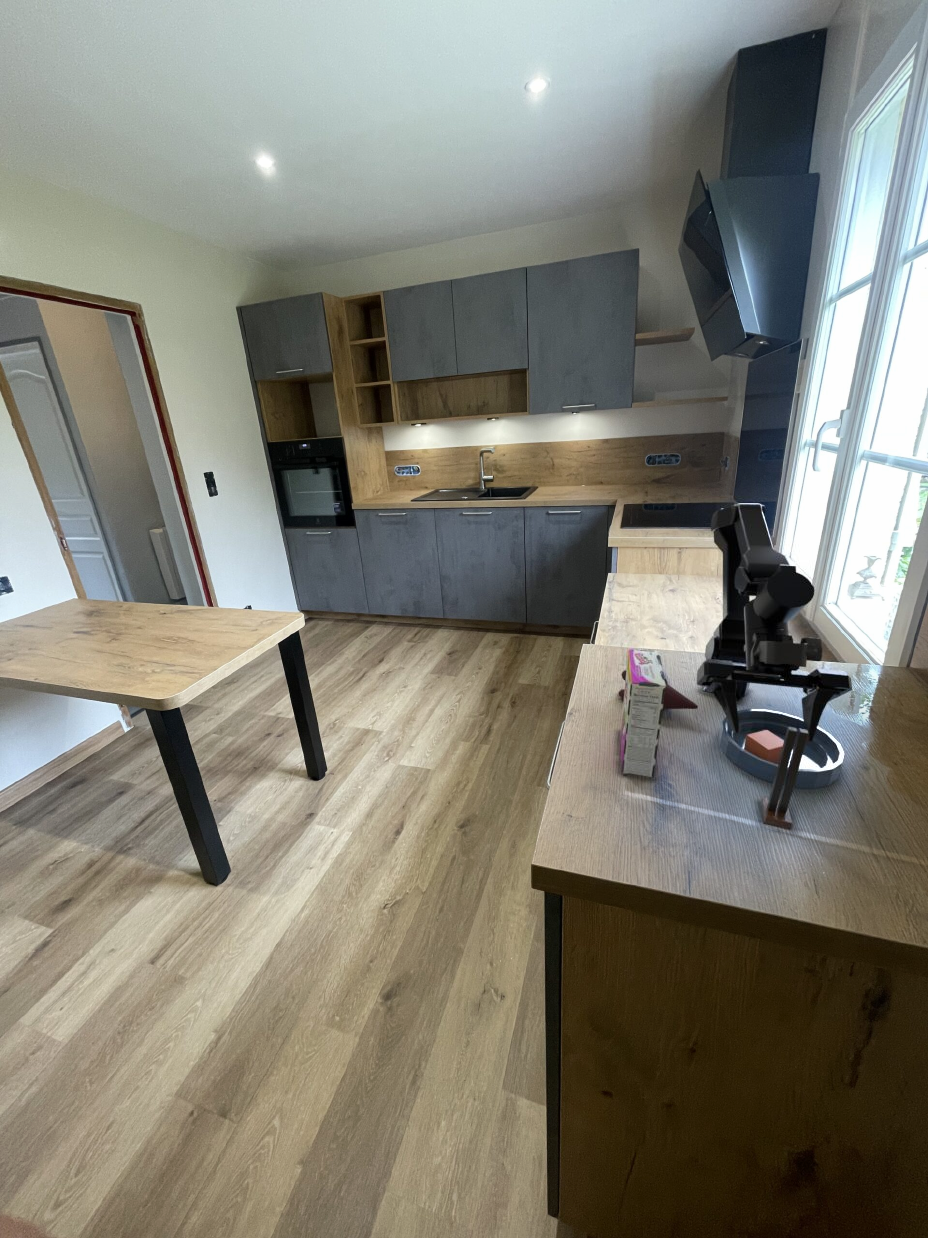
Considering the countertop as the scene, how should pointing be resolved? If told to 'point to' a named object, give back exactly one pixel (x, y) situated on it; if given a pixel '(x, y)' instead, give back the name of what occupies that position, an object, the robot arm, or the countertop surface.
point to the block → (764, 745)
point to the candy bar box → (642, 712)
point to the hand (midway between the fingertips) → (772, 737)
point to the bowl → (818, 755)
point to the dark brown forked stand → (772, 806)
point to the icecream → (669, 697)
